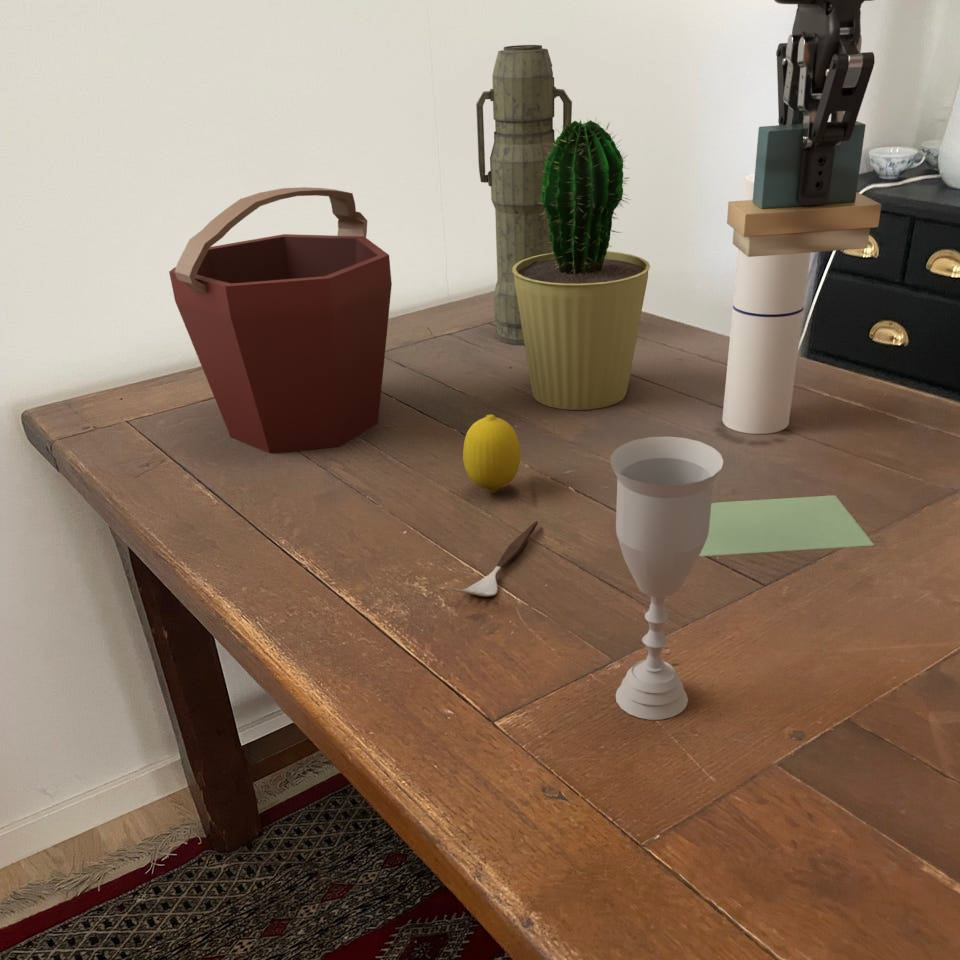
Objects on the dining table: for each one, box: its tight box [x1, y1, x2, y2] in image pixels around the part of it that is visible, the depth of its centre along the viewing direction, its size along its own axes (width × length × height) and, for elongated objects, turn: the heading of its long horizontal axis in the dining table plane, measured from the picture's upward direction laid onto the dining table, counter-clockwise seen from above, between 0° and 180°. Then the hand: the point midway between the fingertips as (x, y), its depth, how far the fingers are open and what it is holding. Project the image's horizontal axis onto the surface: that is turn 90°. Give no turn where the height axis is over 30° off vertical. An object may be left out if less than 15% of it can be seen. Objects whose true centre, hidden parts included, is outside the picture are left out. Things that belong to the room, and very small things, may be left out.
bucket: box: [168, 186, 393, 454], centre depth 111 cm, size 24×22×25 cm
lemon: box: [462, 414, 521, 494], centre depth 99 cm, size 6×6×8 cm
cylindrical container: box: [721, 172, 812, 435], centre depth 106 cm, size 7×7×25 cm
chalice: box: [609, 436, 724, 721], centre depth 67 cm, size 7×7×18 cm
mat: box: [698, 494, 875, 558], centre depth 92 cm, size 16×10×1 cm, turn 93°
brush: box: [726, 120, 882, 257], centre depth 76 cm, size 10×5×8 cm, turn 93°
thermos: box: [475, 44, 573, 346], centre depth 133 cm, size 9×12×35 cm
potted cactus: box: [512, 118, 651, 411], centre depth 115 cm, size 15×15×30 cm
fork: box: [451, 520, 539, 598], centre depth 88 cm, size 3×16×2 cm, turn 156°
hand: (804, 199), depth 76 cm, fingers closed on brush, 2 cm apart
